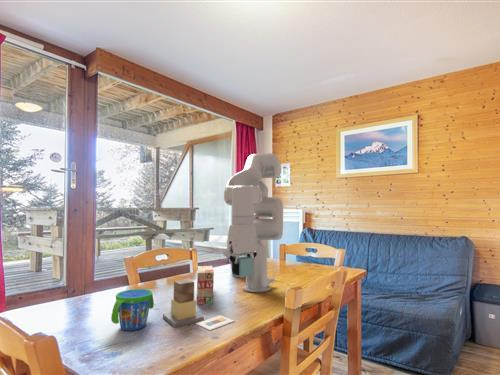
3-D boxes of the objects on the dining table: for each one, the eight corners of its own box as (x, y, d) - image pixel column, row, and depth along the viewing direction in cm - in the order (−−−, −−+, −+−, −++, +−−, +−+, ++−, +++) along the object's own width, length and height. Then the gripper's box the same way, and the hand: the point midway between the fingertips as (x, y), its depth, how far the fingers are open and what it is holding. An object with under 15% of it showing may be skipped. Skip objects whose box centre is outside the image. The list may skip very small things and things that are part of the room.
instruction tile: (220, 316, 103) (220, 314, 103) (234, 321, 98) (234, 320, 98) (195, 324, 95) (195, 322, 95) (209, 330, 91) (209, 329, 91)
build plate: (190, 311, 107) (190, 293, 107) (203, 320, 99) (204, 301, 99) (162, 317, 101) (163, 298, 101) (174, 327, 93) (175, 306, 93)
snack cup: (141, 315, 103) (142, 285, 103) (164, 321, 98) (165, 289, 98) (99, 332, 89) (100, 297, 90) (123, 340, 84) (125, 302, 85)
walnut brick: (187, 296, 104) (187, 278, 104) (193, 300, 100) (194, 281, 100) (173, 299, 101) (173, 280, 101) (179, 303, 97) (180, 284, 97)
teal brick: (244, 272, 109) (244, 255, 109) (252, 275, 105) (252, 257, 105) (232, 274, 106) (232, 257, 106) (240, 277, 102) (240, 259, 102)
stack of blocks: (197, 289, 135) (197, 261, 136) (211, 289, 136) (211, 261, 137) (196, 305, 114) (197, 272, 115) (213, 304, 115) (213, 271, 116)
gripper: (255, 218, 114) (255, 267, 114) (216, 221, 104) (216, 274, 104) (268, 220, 108) (268, 271, 108) (227, 223, 98) (227, 279, 98)
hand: (242, 272), depth 106 cm, fingers closed on teal brick, 5 cm apart
